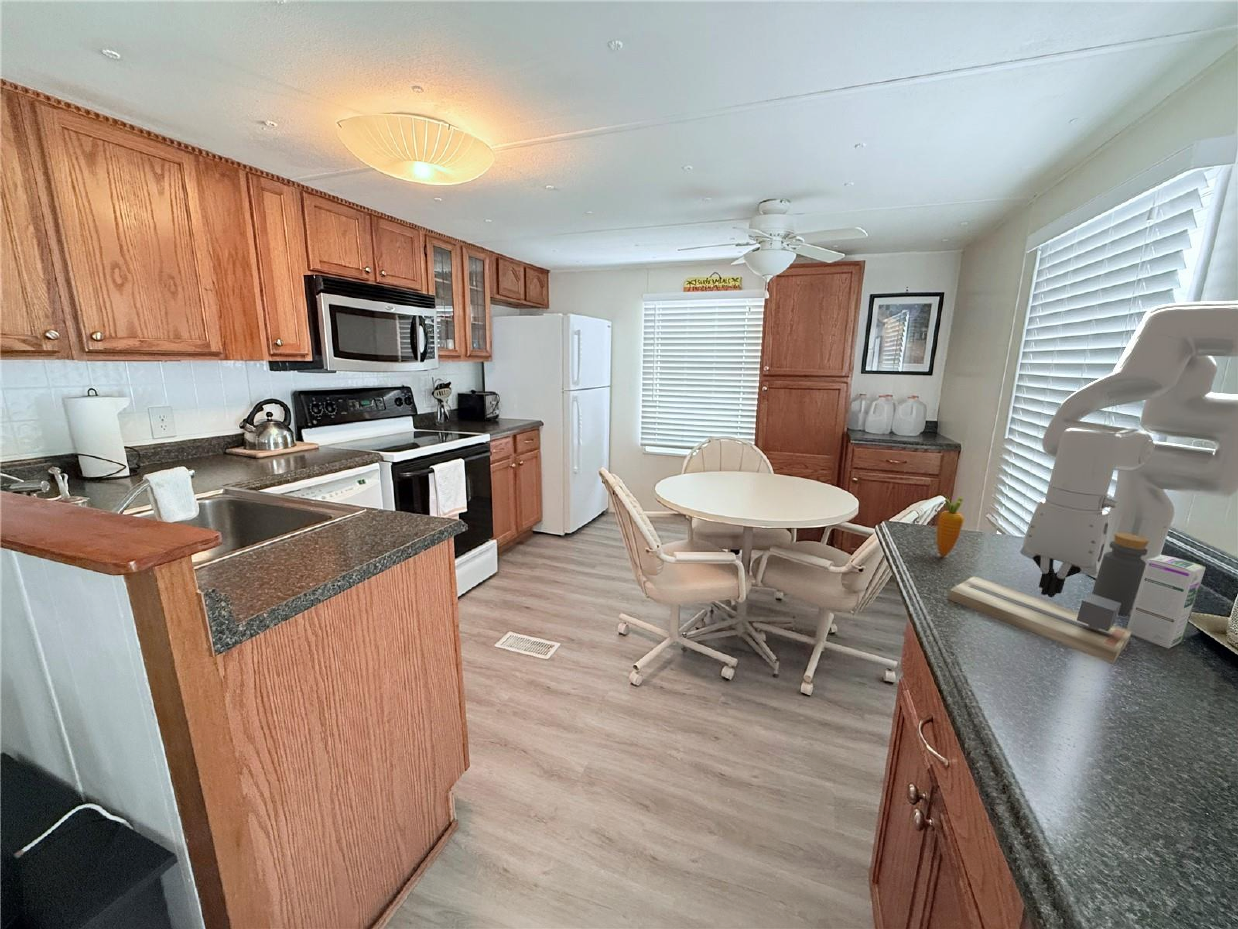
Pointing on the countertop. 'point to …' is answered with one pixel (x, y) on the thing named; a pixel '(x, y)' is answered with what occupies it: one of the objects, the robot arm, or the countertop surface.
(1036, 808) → the countertop surface
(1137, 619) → the syrup box
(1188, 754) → the countertop surface
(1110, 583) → the bottle
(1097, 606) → the fader knob
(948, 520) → the carrot
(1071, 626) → the fader board
